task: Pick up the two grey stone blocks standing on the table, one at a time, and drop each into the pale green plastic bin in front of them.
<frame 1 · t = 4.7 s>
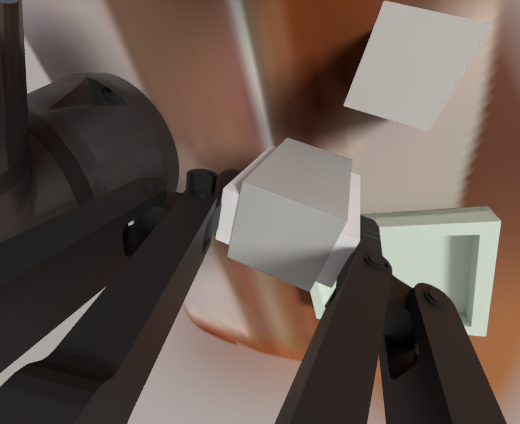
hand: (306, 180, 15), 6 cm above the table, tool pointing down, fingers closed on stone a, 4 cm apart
stone a: (307, 177, 16), point 6 cm above the table, touching gripper
bin: (384, 265, 23), on the table
stone b: (393, 70, 16), on the table
when the fingers open (2 cm above the table, at t = 8.2 s): stone a stays where it is, resting on bin.
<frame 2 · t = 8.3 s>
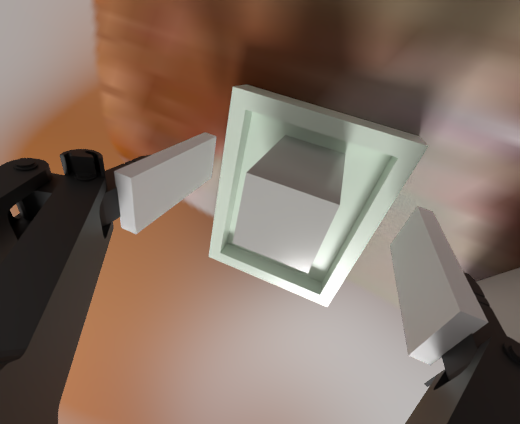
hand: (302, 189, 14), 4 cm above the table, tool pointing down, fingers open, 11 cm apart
stone a: (305, 172, 17), point 1 cm above the table, touching bin
bin: (294, 202, 19), on the table
stone b: (500, 297, 18), on the table
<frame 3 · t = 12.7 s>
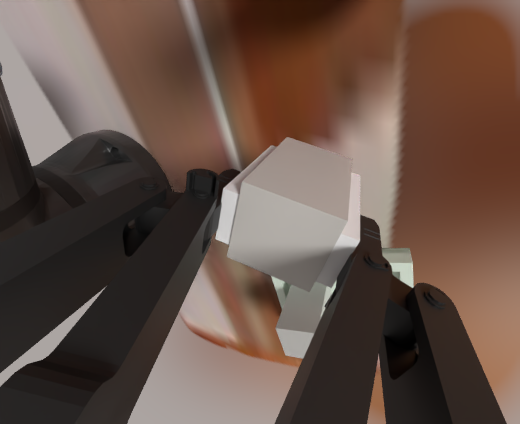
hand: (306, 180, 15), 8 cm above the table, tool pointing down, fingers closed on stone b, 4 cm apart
stone a: (313, 291, 29), point 1 cm above the table, touching bin
bin: (340, 288, 28), on the table
stone b: (308, 177, 16), point 7 cm above the table, touching gripper
when the fingers open (2 cm above the table, at t = 16.3 s): stone b stays where it is, resting on bin.
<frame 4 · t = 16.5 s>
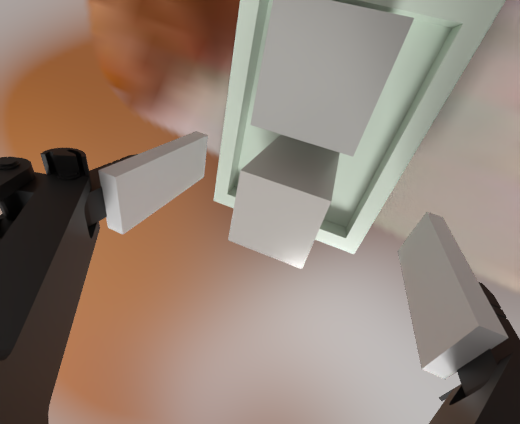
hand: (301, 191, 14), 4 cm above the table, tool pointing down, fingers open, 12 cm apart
stone a: (333, 75, 14), point 1 cm above the table, touching bin
bin: (316, 125, 16), on the table
stone b: (300, 171, 17), point 1 cm above the table, touching bin
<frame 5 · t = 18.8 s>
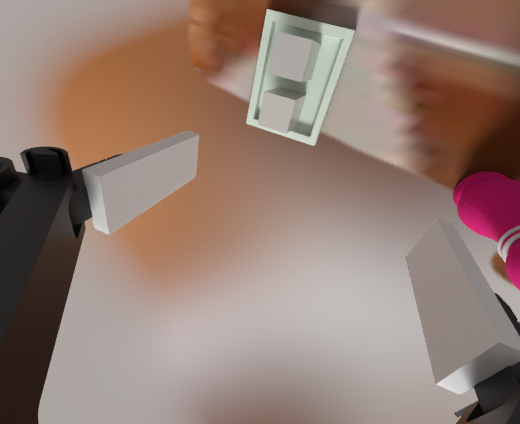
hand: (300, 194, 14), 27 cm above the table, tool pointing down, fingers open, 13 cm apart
stone a: (301, 59, 33), point 1 cm above the table, touching bin
bin: (296, 82, 35), on the table
stone b: (288, 105, 36), point 1 cm above the table, touching bin
pepper mill: (479, 191, 34), on the table
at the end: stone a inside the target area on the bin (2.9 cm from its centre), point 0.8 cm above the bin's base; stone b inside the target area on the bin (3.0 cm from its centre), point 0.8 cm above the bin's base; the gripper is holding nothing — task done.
